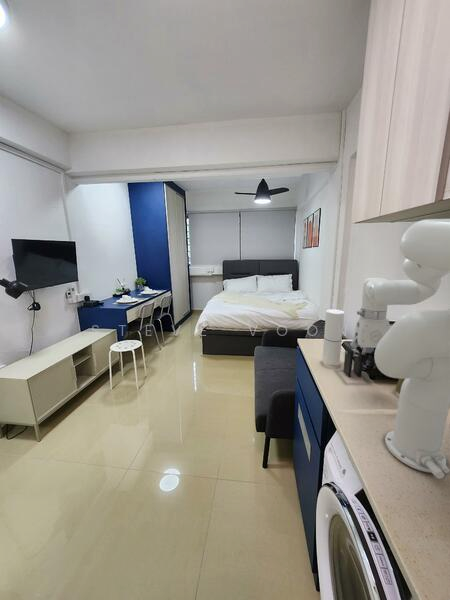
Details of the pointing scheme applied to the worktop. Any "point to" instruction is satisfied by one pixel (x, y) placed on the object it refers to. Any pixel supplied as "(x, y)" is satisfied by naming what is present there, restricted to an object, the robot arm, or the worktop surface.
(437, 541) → the worktop surface
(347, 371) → the bracket
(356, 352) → the lever
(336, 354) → the cylindrical container
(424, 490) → the worktop surface
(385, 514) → the worktop surface
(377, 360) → the robot arm
